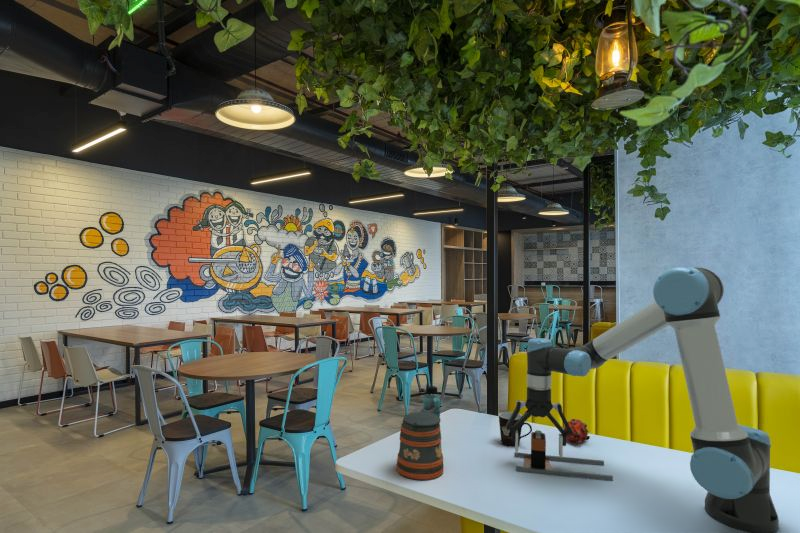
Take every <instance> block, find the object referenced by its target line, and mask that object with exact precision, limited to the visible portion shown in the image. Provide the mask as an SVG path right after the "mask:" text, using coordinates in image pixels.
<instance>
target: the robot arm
mask: <svg viewBox="0 0 800 533" xmlns="http://www.w3.org/2000/svg"><path fill="white" fill-rule="evenodd" d="M652 291H653V298H654V301H653V302H651V303H650V304H648V305H647V306H645V307H643V308H642V309H640V310H637V312H636V313H633V314H632V315H631V316H629V317H627V318H626V319H624V320H622V321H620V322H619V323H618V324H616V325H614V326H613V327H610V329H608V330H606V331H604V332H603V333H601V334H600V335H598V336H596V337H595V338H594V339H592V340H590V341H588V342H586V343H585V344H584V345H580V346H576V347H570V348H561V347H554V346H553V343H552V341H551V339H547V338H537V337H536V338H535V337H534V338H530V339H528V341H527V348H526V360H527V361H526V365H527V366H526V367H527V369H526V385H527V388H526V401H521V400H519V399H517V400H516V402H515V403H516V406H515V408H514V409H513V411H512V412H513V413H512V415H511V417H510V419H509V421H508V422H507V424H506V429H507V430H510V431H512V442H515V447H514V451H515V453H519V446H518V428H519V427H520V426H521V425H522V424H523V423H526V421H527V420H528V419H529V418H531V417H535V418H538V417H540V418H545V417H547V418H548V420H549V421H550V422H551V423H552V424H553V425H554V426H555V428H556V429H557V430H558V431H559V433H558V455H559V457H564V455H563V452H564V448H563V447H566V445H567V438H566V436H567V435H572V430H571V428H570V426H569V424H568V421H567V419H566V416H565V414H564V413H563V407H562V404H561V403H560V402H557V403H552V388H551V387H552V373H553V372H555V373H559V374H563V375H568V376H572V377H586V376H587V375H588V374H589V373H590V372H591V370H594V369H598V368H600V367H601V366H603V365H604V364H605V363H606V362H607V361H609V360H611V359H613V358H614V357H616V356H618V355H619V354H621V353H623V352H625V351H627V350H628V349H630V348H632V347H634V346H636V345H637V344H639V343H641V342H643V341H644V340H647V339H648V338H650V337H651V336H654V335H655V334H657V333H659V332H660V331H662V330H664V329H666V328H667V327H669V326H670V327H671V328H672V329H673V330H674V333H675V338H676V339H675V340H676V343H677V346H678V347H677V348H678V351H679V356H680V361H681V365H682V369H683V374H684V379H685V384H686V390H687V393H688V398H689V402H690V403H689V404H690V407H691V411H692V415H693V421H694V425H695V426H694V428H693V430H692V431H690V433H689V435H690V440H691V444H692V450H693V453H692V455H691V457H690V461H689V468H690V469H689V470H690V472H691V475H692V477H693V478H694V480H695V481H696V482H697V484H698V485H699V486H700V487H702V488H703V490H705V491H707V493H706V496H705V498H704V511H705V512H706V513H707V514H708V515H709V516H711V518H714V519H715V520H717V521H718V522H720V523H722V524H724V525H726V526H729V527H732V528H735V529H738V530H740V531H741V530H742V531H746V532H750V533H776V532H777V531H779V525H780V524H779V516H778V513H777V510H776V507H775V504H774V502H773V499H772V496H771V492H770V491H771V490H770V489H771V486H770V484H771V482H770V481H771V447H772V444H771V439H770V437H771V436H770V435H769V434H768V433H767V432H765V431H763V430H760V429H757V428H754V427H751V426H750V427H749V426H747V425H742V424H738V419H737V415H736V410H735V407H734V402H733V399H732V398H733V397H732V394H731V389H730V386H729V381H728V378H727V377H728V375H727V373H726V368H725V364H724V359H723V356H722V352H721V351H722V350H721V347H720V342H719V338H718V334H717V329H716V324H717V322H718V321H720V318H721V314H720V310H719V307H718V306H719V305H718V304H720V302H721V300H722V299H723V297H724V293H725V292H724V284H723V281H722V279H721V278H720V277H719V276H718V275H717V274H716V273H715V272H713V271H711V270H709V269H708V268H704V267H692V266H686V265H685V266H684V265H683V266H677V267H673V268H670V269H668V270H666V271H664V272H663V273H661V274H660V275H659V276H658V278H657V279H656V280H655V282H654V284H653V290H652ZM523 407H525V408H526V411H524V413H523V414H522V417H521V418H520V419H519V420H518V421H517V422H516V423H515V424H514V425H513V426H512V424H513V422H514V421H515V419H516V417H517V415H518V414H520V410H521V409H523ZM552 409H554V410H555V411H556V412H557V413H558V415H559V417H560V419H561V420H562V423H563V425H564V428H565V427H566V429H567V430H564V428H563V427H562V425H560V423H559V422H558V421H557V419H556V418H555V417H554V416H553V414H552V413H551V411H552Z"/></svg>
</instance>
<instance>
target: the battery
mask: <svg viewBox="0 0 800 533" xmlns="http://www.w3.org/2000/svg"><path fill="white" fill-rule="evenodd" d="M546 444H547V439H546V433H543V432H542V431H541V430H538V429H536V430H535V431H532V432H531V433H530V454H531V467H533V468H542V469H545V462H546V455H547V454H546V452H547V451H546V448H547V447H546V446H547V445H546Z"/></svg>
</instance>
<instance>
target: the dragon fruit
mask: <svg viewBox="0 0 800 533" xmlns="http://www.w3.org/2000/svg"><path fill="white" fill-rule="evenodd" d="M567 422H568V424H569V426H570V428H571V430H572V435H567V436H566V439H568V441H569V443H571V444H573V445H575V444H577V443H580V444H581V443H584V442H585V441H588V440H590V438H591V436H590V435H589V429H588V428H587V427H588V425H587V424H586V423H585V422H583V420H581V419H579V418H578V419H576V418H571V419H570V420H569V421H567ZM563 429H564V430H567V429H566V427H565V426H564V428H563Z"/></svg>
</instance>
